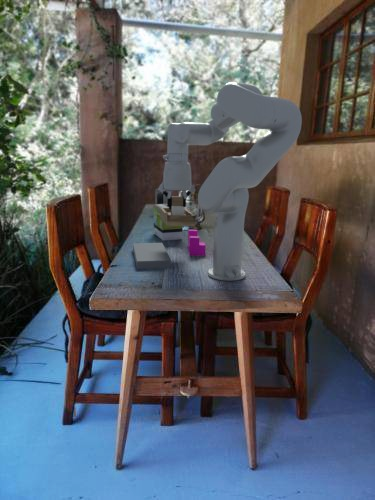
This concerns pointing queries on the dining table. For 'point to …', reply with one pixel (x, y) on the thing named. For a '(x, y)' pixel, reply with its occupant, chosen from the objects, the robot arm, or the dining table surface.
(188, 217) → the tan open boxy piece
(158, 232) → the tea box
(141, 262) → the block
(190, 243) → the toy block
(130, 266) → the dining table surface
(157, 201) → the grey hollow cube
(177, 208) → the grey box
